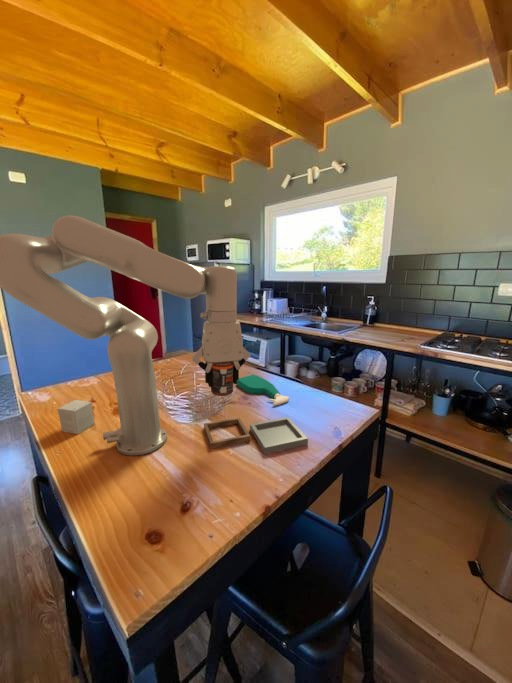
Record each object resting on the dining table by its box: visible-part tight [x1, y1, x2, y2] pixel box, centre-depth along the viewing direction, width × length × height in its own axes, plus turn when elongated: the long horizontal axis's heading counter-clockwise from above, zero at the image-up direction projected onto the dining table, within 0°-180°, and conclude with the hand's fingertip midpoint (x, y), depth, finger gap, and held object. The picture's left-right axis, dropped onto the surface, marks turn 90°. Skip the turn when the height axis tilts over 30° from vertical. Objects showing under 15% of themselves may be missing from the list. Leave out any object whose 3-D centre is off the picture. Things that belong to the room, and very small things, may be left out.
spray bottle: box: [236, 374, 290, 407], centre depth 109 cm, size 3×11×24 cm
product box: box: [57, 399, 95, 435], centre depth 84 cm, size 6×6×7 cm
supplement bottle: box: [210, 361, 234, 397], centre depth 76 cm, size 6×6×11 cm
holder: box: [203, 417, 251, 450], centre depth 81 cm, size 11×11×2 cm
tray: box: [249, 416, 309, 455], centre depth 79 cm, size 12×12×2 cm
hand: (222, 383), depth 77 cm, fingers closed on supplement bottle, 6 cm apart
